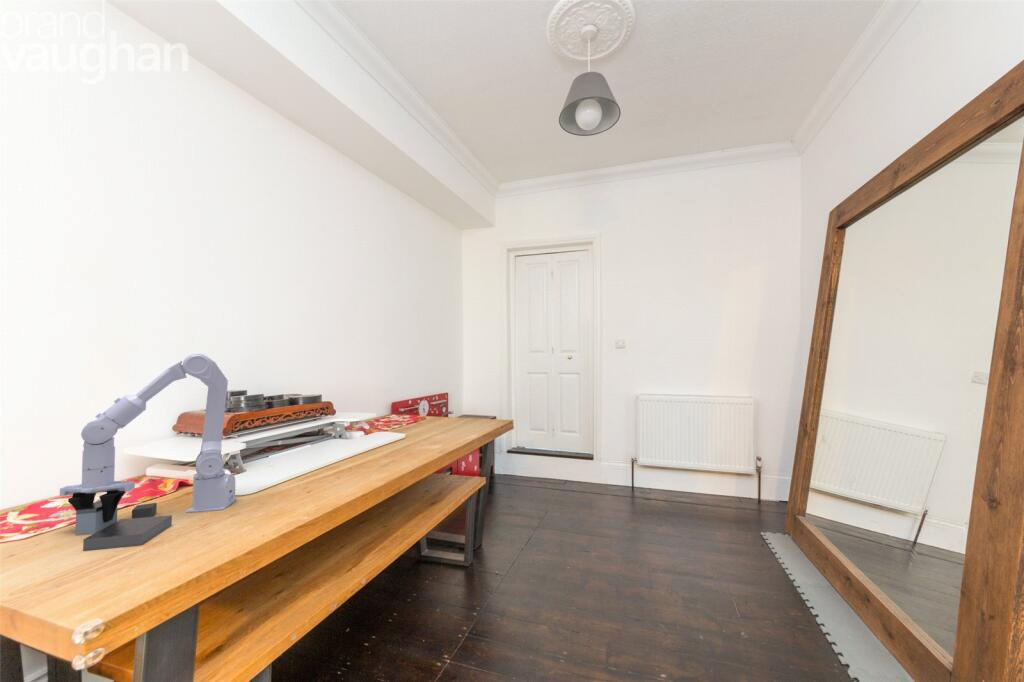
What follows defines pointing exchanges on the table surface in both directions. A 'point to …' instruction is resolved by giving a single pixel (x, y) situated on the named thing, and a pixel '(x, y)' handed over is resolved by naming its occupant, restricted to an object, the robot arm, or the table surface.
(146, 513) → the rubber block
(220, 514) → the table surface
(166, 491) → the table surface
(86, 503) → the robot arm
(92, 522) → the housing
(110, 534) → the stand
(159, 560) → the table surface
